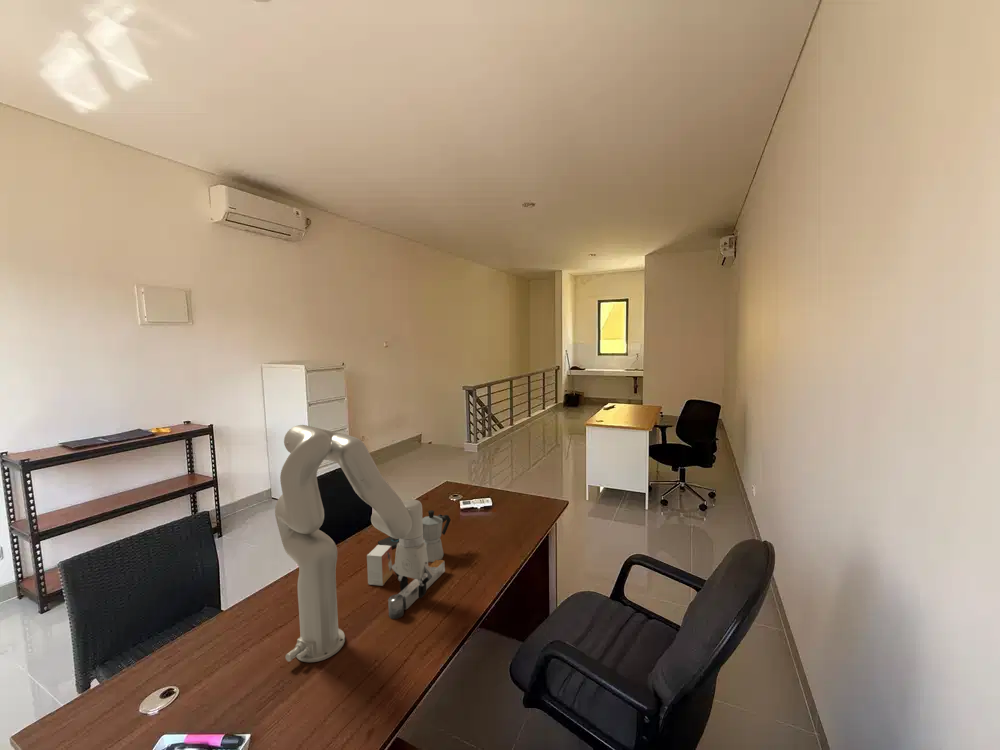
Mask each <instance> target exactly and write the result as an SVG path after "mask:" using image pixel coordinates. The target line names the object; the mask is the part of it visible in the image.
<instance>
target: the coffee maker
mask: <svg viewBox="0 0 1000 750" xmlns="http://www.w3.org/2000/svg"><path fill="white" fill-rule="evenodd" d="M427 513H428V516H427V515H426V516H424V517H422V519H423V543H425V546H426V550H427V556H428V563H433V562H434V561H435V560H443V557H444V555H445V554H444V549H443V543H442V539H441V537H442V535H443V536H445V535H446V533H447V530H448V527H449V526H450V522H452V521H451V518H450V516H449V515H448V514H444V515H442V514H441V513H440V514H438V515H434V514H435V510H432V509H430V510H428V511H427ZM444 522H445V523H444ZM443 523H444V526H443Z"/></svg>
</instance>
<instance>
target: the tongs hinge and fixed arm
mask: <svg viewBox="0 0 1000 750" xmlns="http://www.w3.org/2000/svg"><path fill="white" fill-rule="evenodd" d="M439 561H440V560H435V561H434V562H431V563H430V565H428V567H429V568H430V569H431V568H432V567H433V566H434V565H435V564H436V563H438V562H439ZM425 574H426V573H425ZM417 581H418V579H414V578H413V580H412V581H411V582H409V583H408V586H406V587H405V588H404V589H403V590H402V591H401V590H400V592H398V593H397V594H396V593H395V594H392V595H391V596H389V597H388V599H387V601H388V602H387V603H388V604H387V605H388V617H389V618H390V619H392V620H397V619H400V618H402V617H403V616H404V614H405V612H404V611H405V609H404V605H403V596H402V595H403V594H404V593H405V592H407V591H408V590H409V589H410V588H411V587H412V586H413V585H414V584H415V583H416V582H417Z"/></svg>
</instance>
